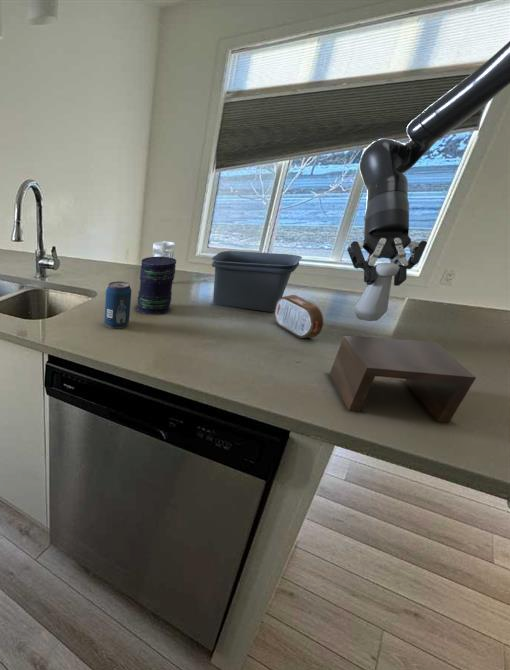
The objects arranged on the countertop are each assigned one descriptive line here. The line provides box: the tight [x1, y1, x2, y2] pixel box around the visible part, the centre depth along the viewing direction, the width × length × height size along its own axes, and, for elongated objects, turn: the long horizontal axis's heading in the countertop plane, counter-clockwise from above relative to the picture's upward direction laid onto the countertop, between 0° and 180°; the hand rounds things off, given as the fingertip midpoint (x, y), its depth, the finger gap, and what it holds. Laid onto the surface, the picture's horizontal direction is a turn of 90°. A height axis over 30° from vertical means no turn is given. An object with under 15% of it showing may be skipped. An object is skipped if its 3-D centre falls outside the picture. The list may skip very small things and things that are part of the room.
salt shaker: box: [354, 262, 400, 322], centre depth 93 cm, size 6×6×13 cm
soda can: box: [103, 281, 132, 329], centre depth 114 cm, size 7×7×12 cm
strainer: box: [151, 240, 176, 258], centre depth 144 cm, size 7×7×15 cm
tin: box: [273, 294, 324, 339], centre depth 102 cm, size 15×3×8 cm, turn 0°
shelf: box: [329, 335, 477, 423], centre depth 75 cm, size 14×14×9 cm
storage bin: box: [211, 250, 302, 313], centre depth 120 cm, size 21×16×14 cm
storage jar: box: [136, 256, 177, 315], centre depth 122 cm, size 10×10×15 cm
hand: (384, 283), depth 91 cm, fingers closed on salt shaker, 4 cm apart
